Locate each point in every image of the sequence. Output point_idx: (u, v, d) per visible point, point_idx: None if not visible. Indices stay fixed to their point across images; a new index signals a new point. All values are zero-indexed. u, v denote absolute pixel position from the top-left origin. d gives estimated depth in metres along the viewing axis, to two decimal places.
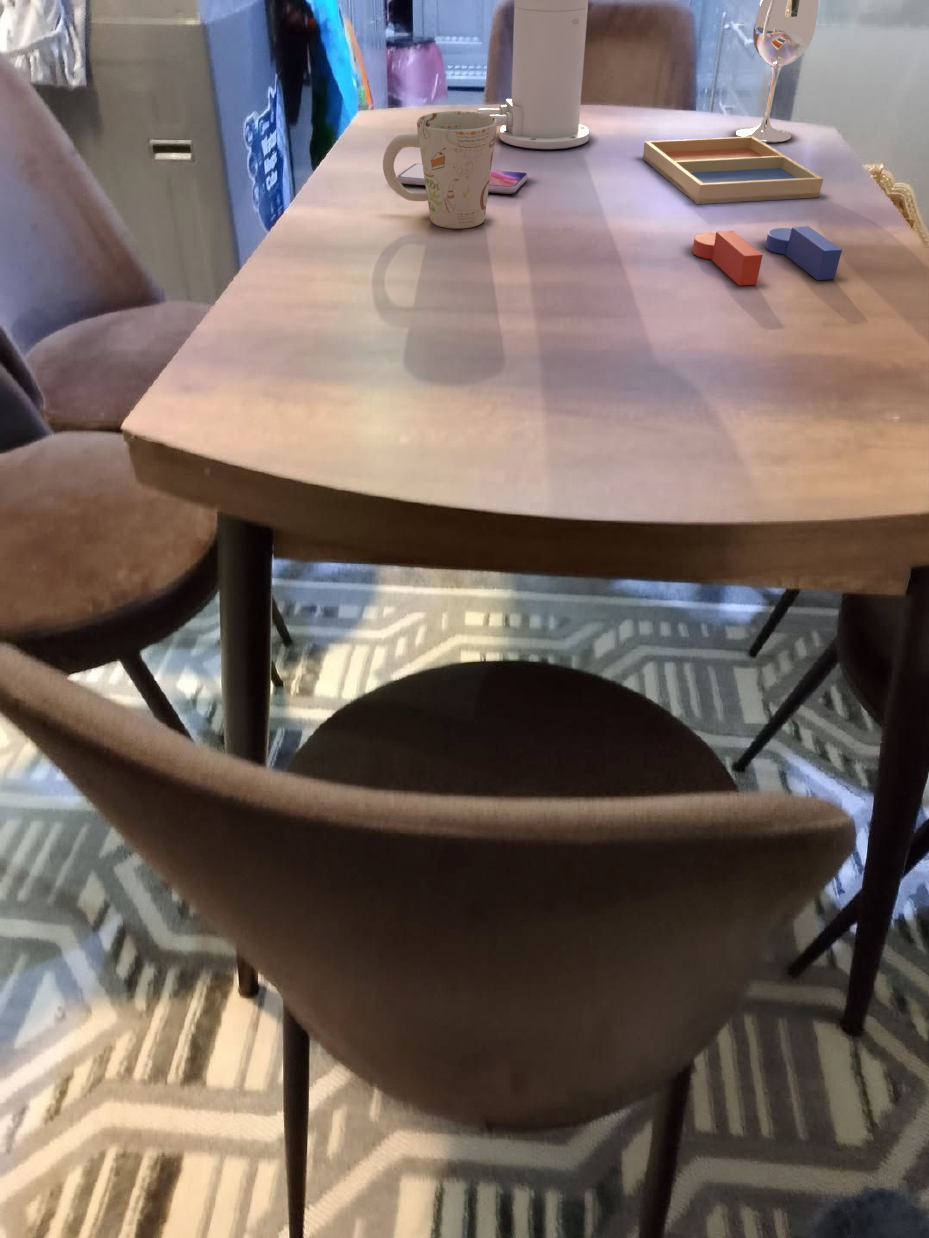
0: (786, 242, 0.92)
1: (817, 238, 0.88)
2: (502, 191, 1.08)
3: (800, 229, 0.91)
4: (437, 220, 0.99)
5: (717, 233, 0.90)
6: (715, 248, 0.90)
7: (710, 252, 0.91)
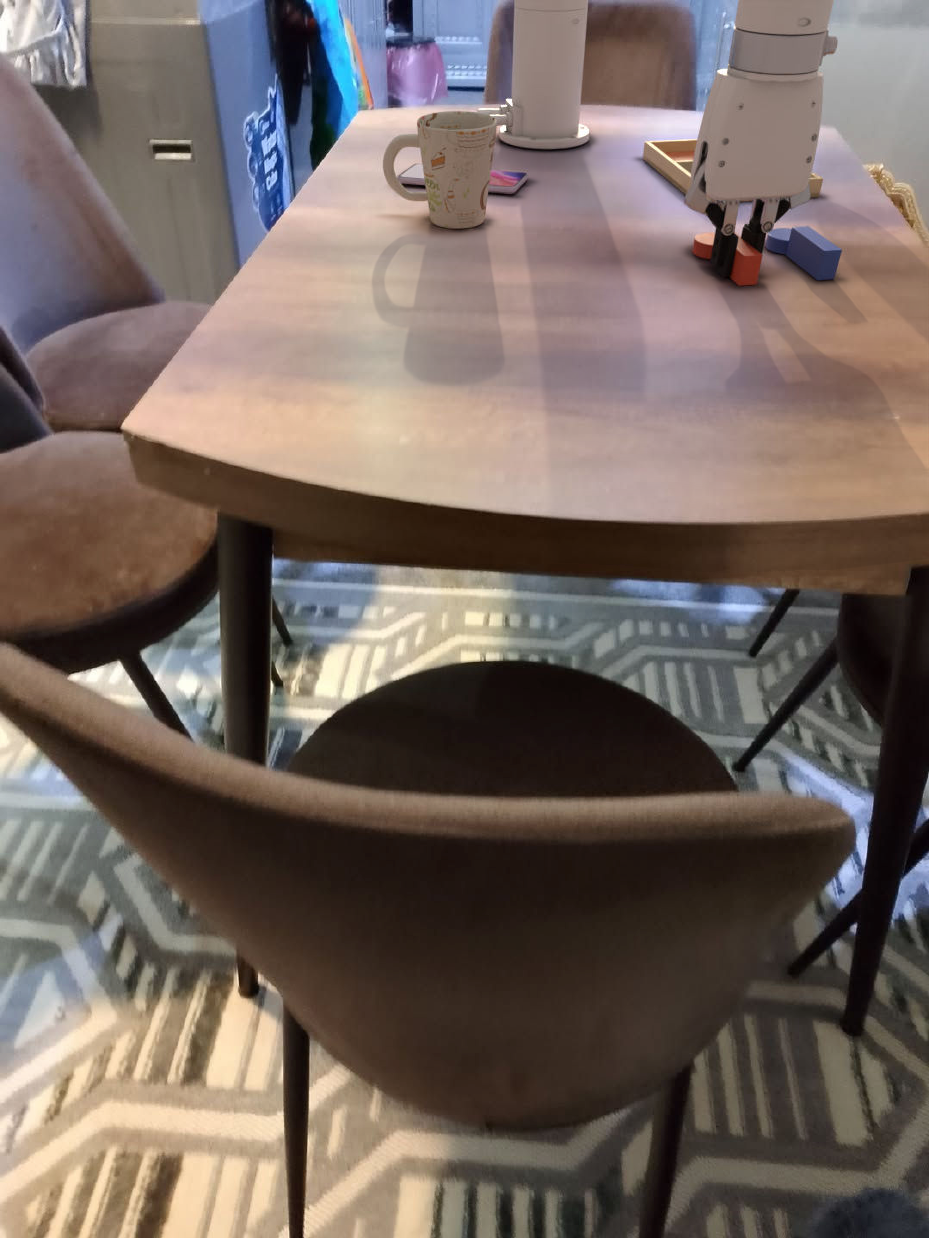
0: (786, 242, 0.92)
1: (817, 238, 0.88)
2: (502, 191, 1.08)
3: (800, 229, 0.91)
4: (437, 220, 0.99)
5: None
6: None
7: (710, 252, 0.91)
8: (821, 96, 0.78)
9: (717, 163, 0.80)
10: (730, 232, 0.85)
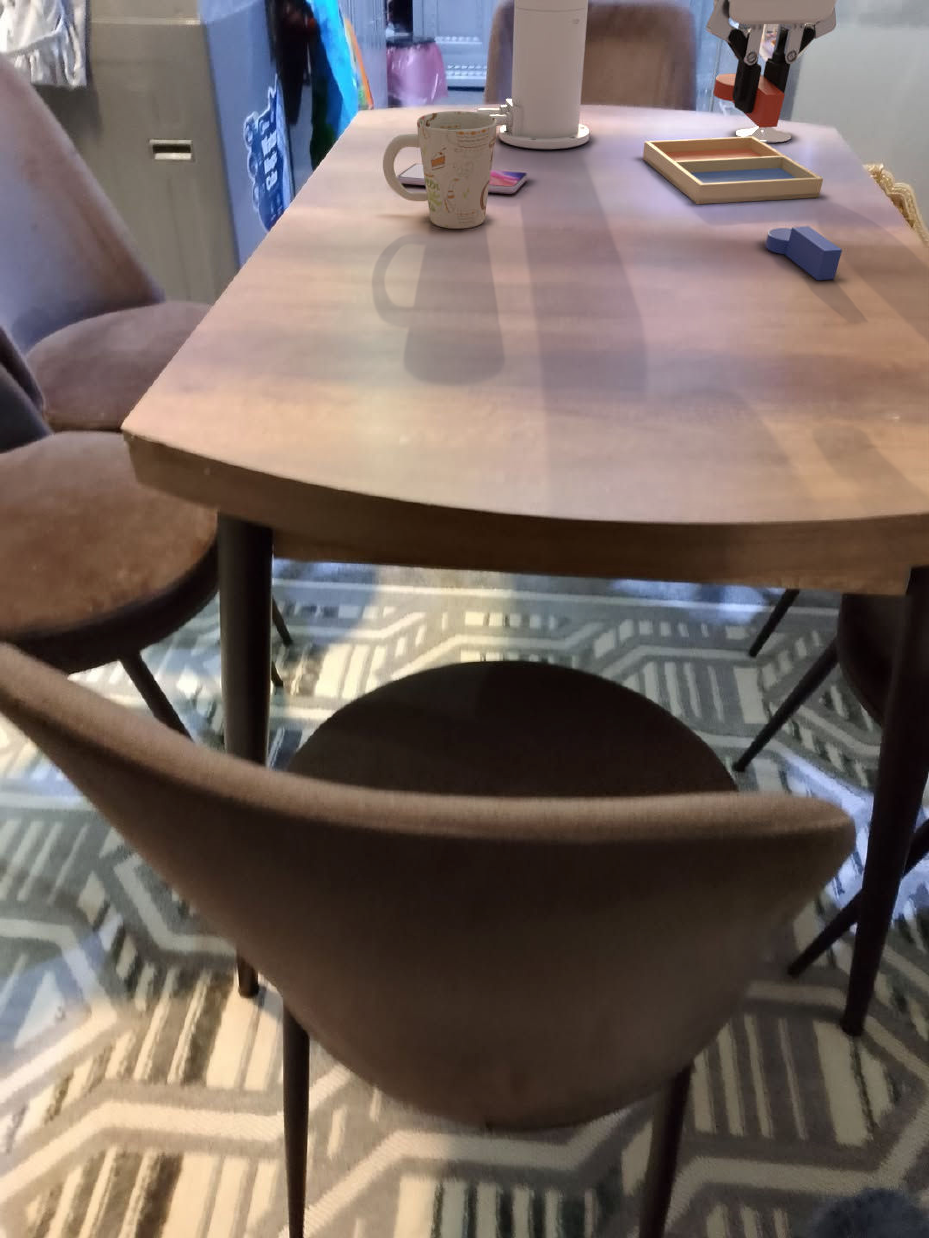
0: (786, 242, 0.92)
1: (817, 238, 0.88)
2: (502, 191, 1.08)
3: (800, 229, 0.91)
4: (437, 220, 0.99)
5: None
6: None
7: (731, 93, 0.90)
8: None
9: None
10: (753, 61, 0.83)
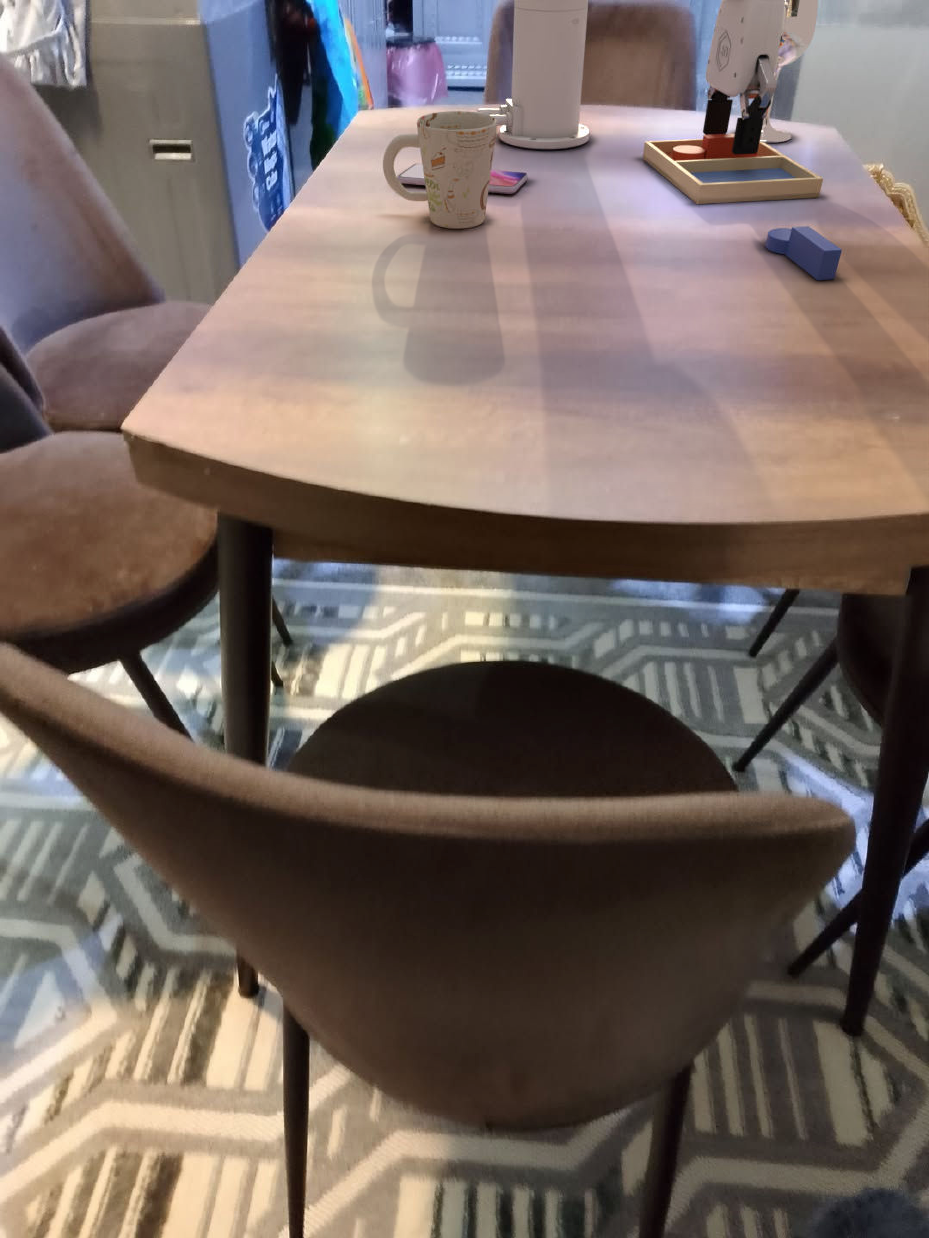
0: (786, 242, 0.92)
1: (817, 238, 0.88)
2: (502, 191, 1.08)
3: (800, 229, 0.91)
4: (437, 220, 0.99)
5: (710, 138, 1.14)
6: (710, 151, 1.15)
7: (703, 157, 1.15)
8: None
9: (775, 66, 1.07)
10: None
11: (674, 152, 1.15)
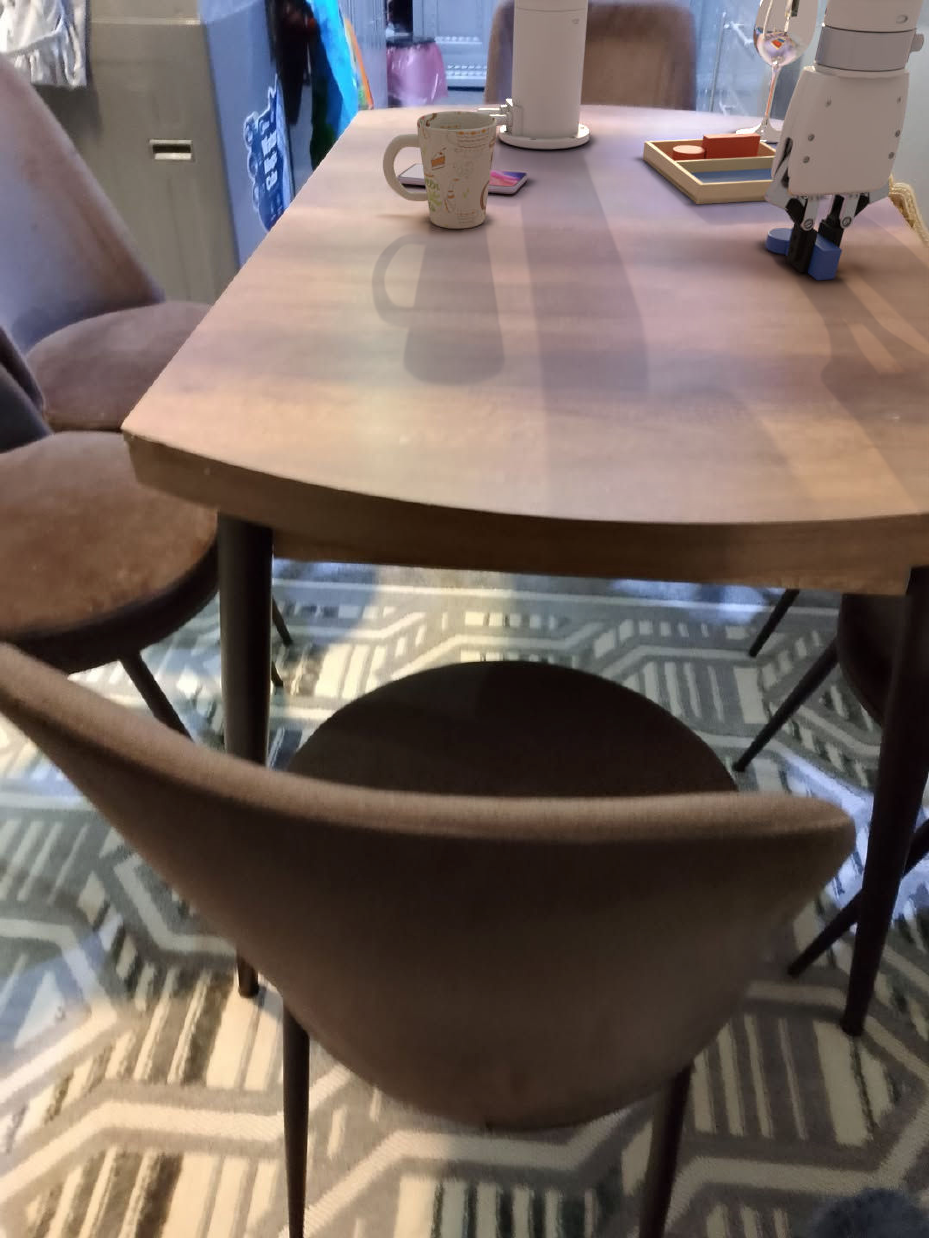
0: (786, 242, 0.92)
1: (817, 238, 0.88)
2: (502, 191, 1.08)
3: None
4: (437, 220, 0.99)
5: (710, 138, 1.14)
6: (710, 151, 1.15)
7: (703, 157, 1.15)
8: (906, 93, 0.79)
9: (802, 159, 0.81)
10: (809, 227, 0.86)
11: (674, 152, 1.15)
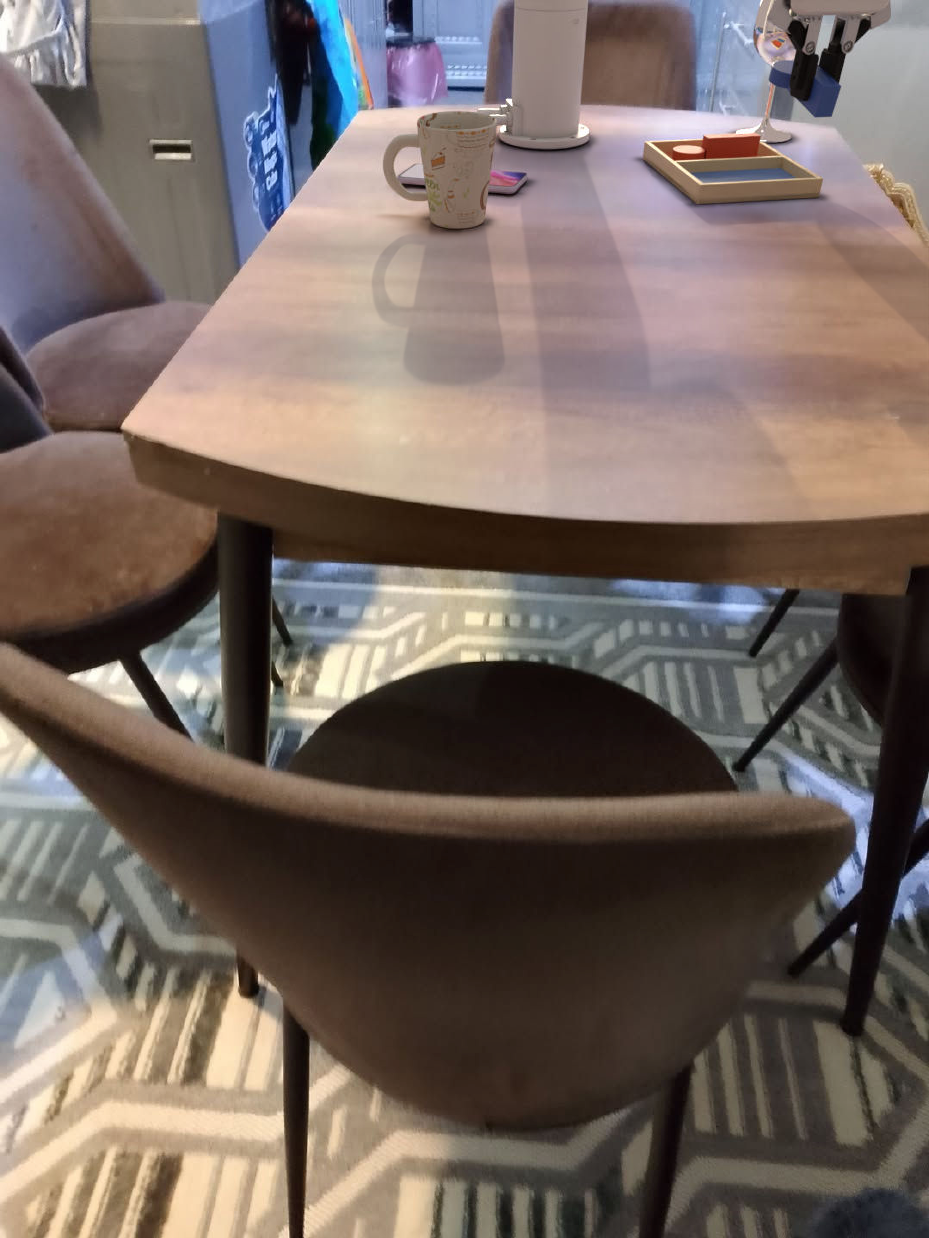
0: (789, 76, 0.93)
1: (819, 73, 0.89)
2: (502, 191, 1.08)
3: None
4: (437, 220, 0.99)
5: (710, 138, 1.14)
6: (710, 151, 1.15)
7: (703, 157, 1.15)
8: None
9: None
10: (811, 51, 0.87)
11: (674, 152, 1.15)
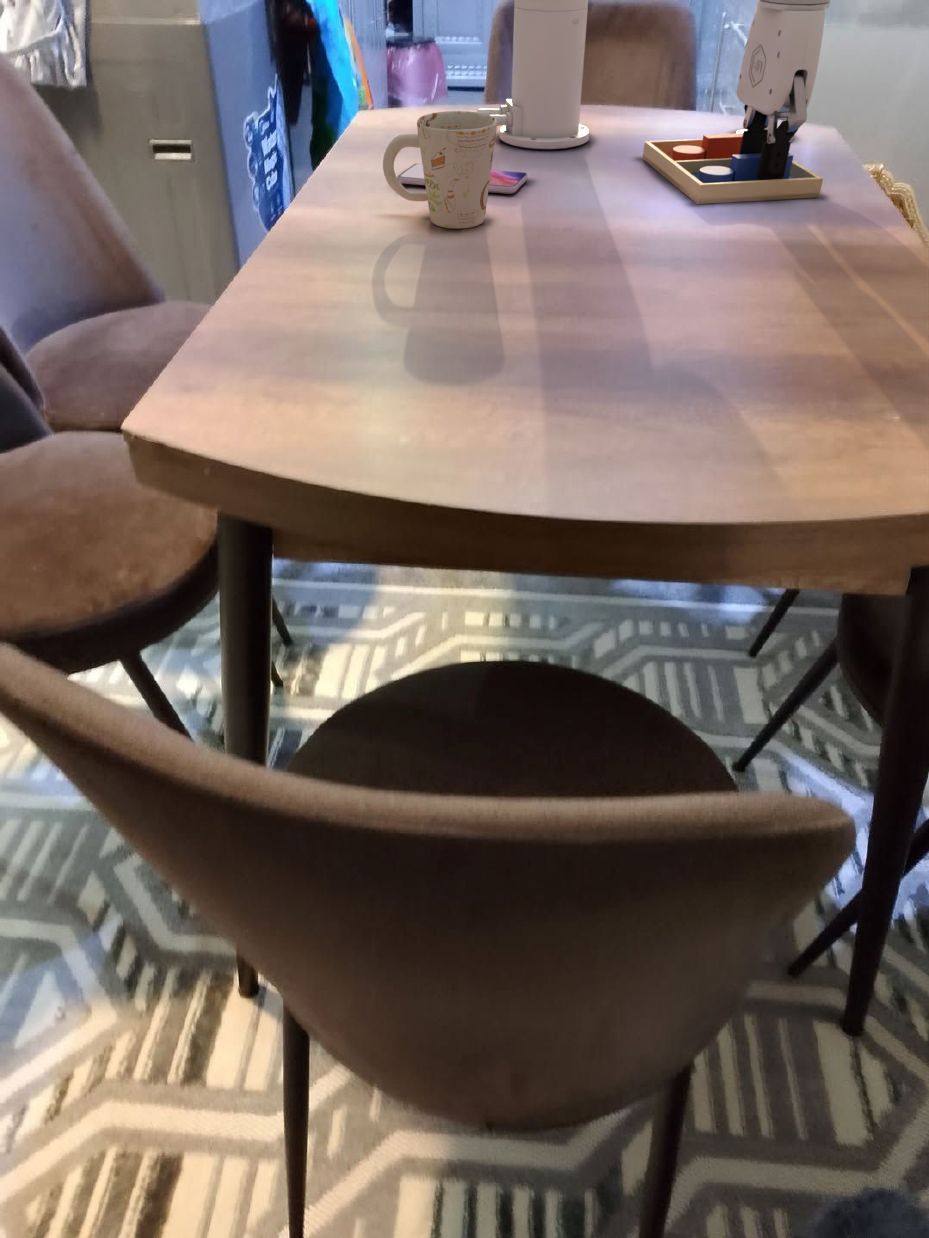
0: (733, 173, 1.08)
1: None
2: (502, 191, 1.08)
3: (741, 157, 1.08)
4: (437, 220, 0.99)
5: (710, 138, 1.14)
6: (710, 151, 1.15)
7: (703, 157, 1.15)
8: None
9: (814, 81, 1.00)
10: None
11: (674, 152, 1.15)
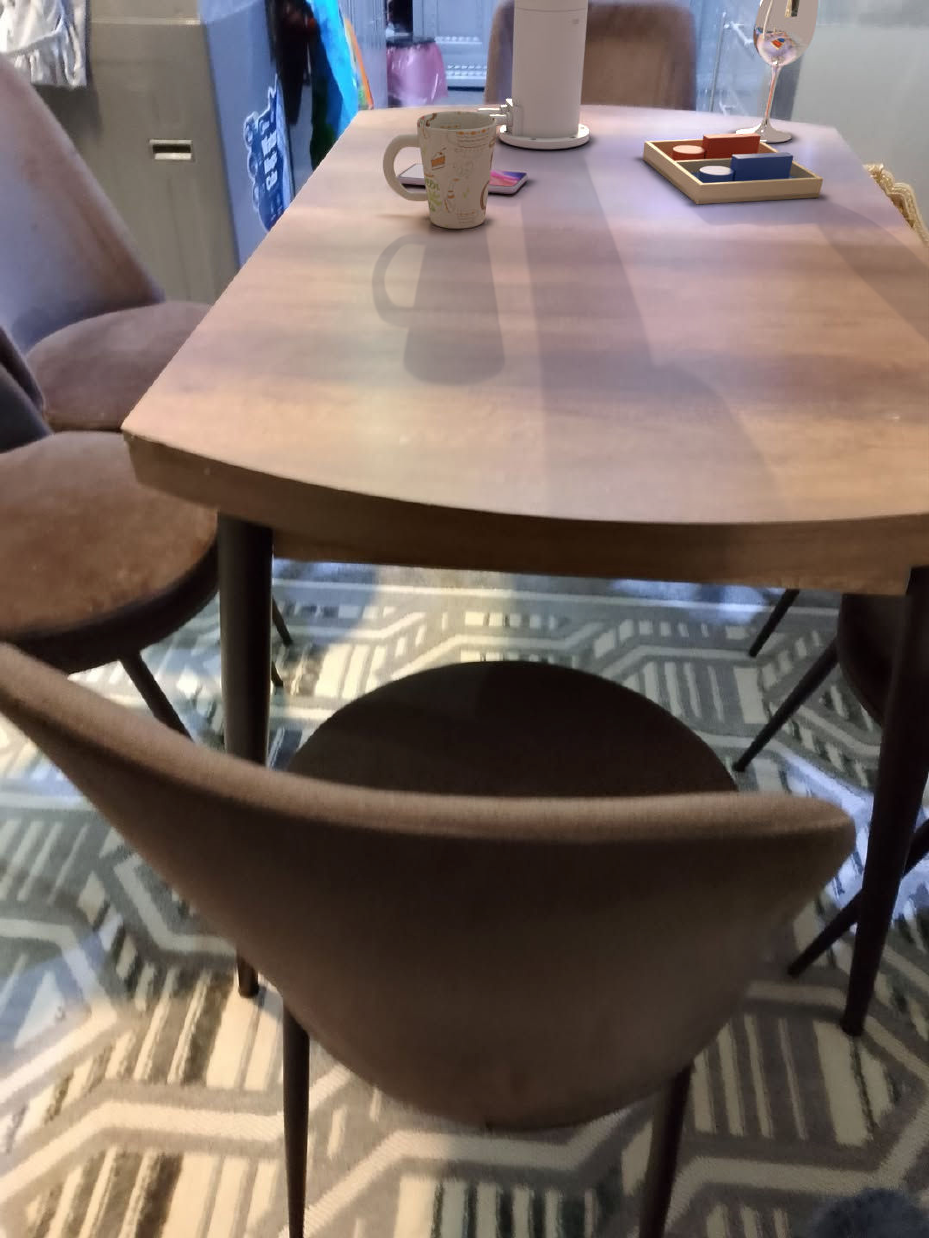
0: (733, 173, 1.08)
1: (763, 155, 1.08)
2: (502, 191, 1.08)
3: (741, 157, 1.08)
4: (437, 220, 0.99)
5: (710, 138, 1.14)
6: (710, 151, 1.15)
7: (703, 157, 1.15)
8: None
9: None
10: None
11: (674, 152, 1.15)
